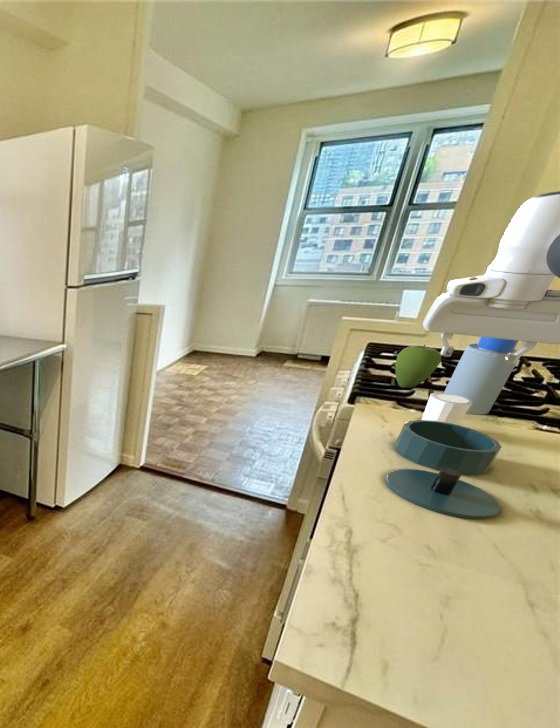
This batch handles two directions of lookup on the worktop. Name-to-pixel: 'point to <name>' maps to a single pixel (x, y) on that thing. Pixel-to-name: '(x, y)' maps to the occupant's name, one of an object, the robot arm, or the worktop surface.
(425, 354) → the green mango
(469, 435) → the pot
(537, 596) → the worktop surface
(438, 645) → the worktop surface
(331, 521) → the worktop surface
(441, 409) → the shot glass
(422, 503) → the lid
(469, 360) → the spray bottle
